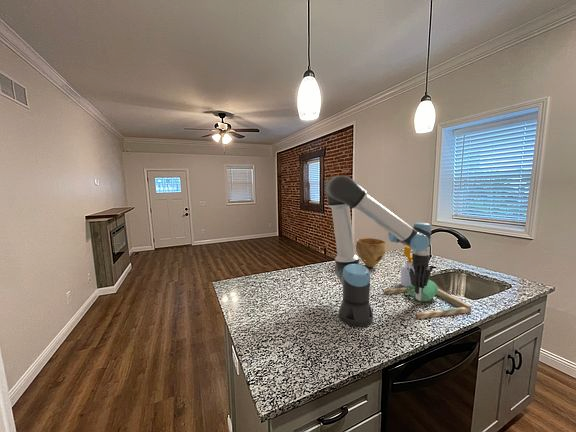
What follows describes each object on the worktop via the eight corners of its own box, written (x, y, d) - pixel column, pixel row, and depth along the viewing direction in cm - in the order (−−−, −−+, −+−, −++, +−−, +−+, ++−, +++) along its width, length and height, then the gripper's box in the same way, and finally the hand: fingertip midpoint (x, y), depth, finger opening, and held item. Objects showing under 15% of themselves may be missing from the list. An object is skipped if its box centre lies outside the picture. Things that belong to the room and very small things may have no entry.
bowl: (365, 260, 194) (366, 236, 192) (390, 267, 179) (391, 240, 176) (349, 266, 181) (350, 240, 179) (374, 274, 166) (375, 245, 163)
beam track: (418, 318, 111) (418, 312, 110) (384, 292, 137) (384, 287, 137) (471, 312, 115) (471, 306, 115) (428, 288, 142) (428, 283, 142)
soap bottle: (420, 286, 144) (423, 246, 141) (409, 289, 141) (411, 247, 138) (408, 281, 153) (410, 242, 150) (397, 283, 149) (398, 244, 146)
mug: (436, 307, 121) (439, 296, 129) (432, 289, 120) (436, 279, 127) (405, 303, 131) (409, 294, 139) (401, 287, 130) (406, 278, 137)
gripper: (414, 256, 117) (412, 303, 120) (437, 255, 120) (434, 301, 122) (404, 252, 125) (402, 297, 127) (426, 251, 127) (423, 295, 129)
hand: (418, 299), depth 125 cm, fingers closed
